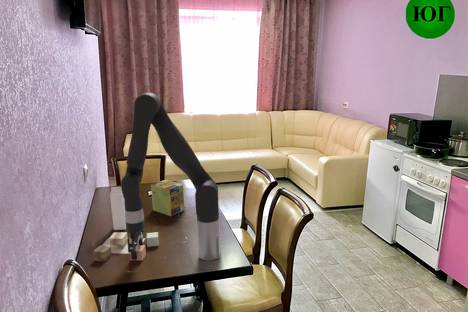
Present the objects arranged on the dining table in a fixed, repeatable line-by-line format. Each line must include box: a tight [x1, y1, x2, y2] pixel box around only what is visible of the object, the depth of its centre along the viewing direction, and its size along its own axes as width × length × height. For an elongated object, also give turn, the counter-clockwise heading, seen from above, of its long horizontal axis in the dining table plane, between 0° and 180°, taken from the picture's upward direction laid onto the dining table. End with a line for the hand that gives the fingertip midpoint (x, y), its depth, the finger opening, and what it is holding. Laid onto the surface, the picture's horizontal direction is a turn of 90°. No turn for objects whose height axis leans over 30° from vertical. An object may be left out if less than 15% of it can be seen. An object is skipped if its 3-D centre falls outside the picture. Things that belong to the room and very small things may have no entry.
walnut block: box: [92, 245, 113, 263], centre depth 156 cm, size 5×5×5 cm
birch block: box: [108, 231, 128, 249], centre depth 166 cm, size 6×6×5 cm
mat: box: [101, 237, 146, 254], centre depth 167 cm, size 18×14×1 cm
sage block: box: [146, 231, 160, 248], centre depth 167 cm, size 5×5×5 cm
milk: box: [109, 186, 126, 231], centre depth 183 cm, size 6×6×22 cm
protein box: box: [150, 179, 185, 217], centre depth 205 cm, size 10×15×16 cm
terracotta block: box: [130, 244, 147, 261], centre depth 156 cm, size 5×5×5 cm
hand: (137, 254), depth 156 cm, fingers open, 8 cm apart
